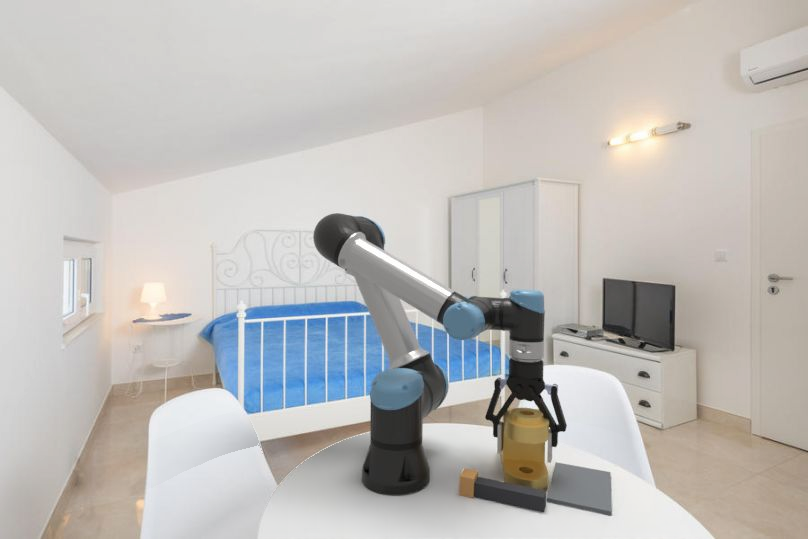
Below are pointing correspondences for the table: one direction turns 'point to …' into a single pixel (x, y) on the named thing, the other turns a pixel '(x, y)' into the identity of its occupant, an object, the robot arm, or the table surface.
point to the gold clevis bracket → (525, 447)
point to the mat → (581, 488)
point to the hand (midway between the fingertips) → (524, 455)
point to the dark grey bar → (501, 491)
